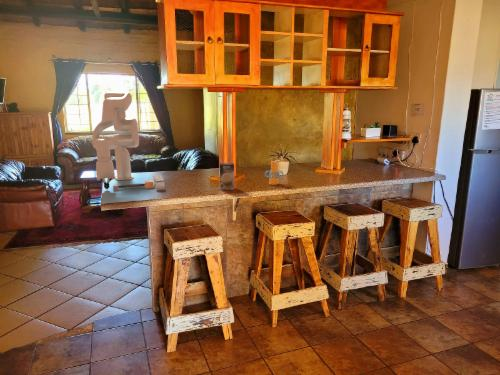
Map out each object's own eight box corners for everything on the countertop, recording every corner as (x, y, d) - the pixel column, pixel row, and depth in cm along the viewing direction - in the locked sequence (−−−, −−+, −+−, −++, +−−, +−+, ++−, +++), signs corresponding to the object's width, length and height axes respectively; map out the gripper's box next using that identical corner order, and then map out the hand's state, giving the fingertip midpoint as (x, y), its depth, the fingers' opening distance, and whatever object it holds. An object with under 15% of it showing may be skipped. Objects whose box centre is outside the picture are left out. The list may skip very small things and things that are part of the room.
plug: (113, 189, 229) (112, 183, 228) (153, 186, 236) (152, 180, 235) (113, 191, 225) (112, 184, 224) (153, 187, 233) (153, 181, 232)
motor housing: (153, 183, 244) (153, 174, 243) (161, 183, 246) (160, 174, 244) (156, 190, 226) (155, 180, 224) (164, 189, 227) (164, 180, 226)
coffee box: (219, 190, 226) (218, 164, 222) (220, 187, 232) (219, 162, 228) (234, 190, 226) (234, 164, 222) (234, 187, 232) (234, 162, 229)
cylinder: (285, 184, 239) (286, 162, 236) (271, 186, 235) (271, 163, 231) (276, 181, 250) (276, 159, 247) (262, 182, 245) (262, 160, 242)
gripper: (117, 157, 227) (119, 186, 231) (91, 159, 222) (94, 188, 226) (117, 159, 220) (119, 189, 224) (90, 161, 215) (93, 191, 219)
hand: (107, 188), depth 225 cm, fingers closed
